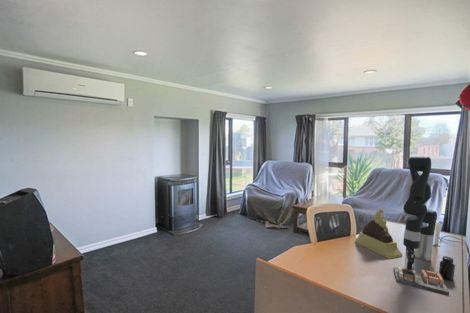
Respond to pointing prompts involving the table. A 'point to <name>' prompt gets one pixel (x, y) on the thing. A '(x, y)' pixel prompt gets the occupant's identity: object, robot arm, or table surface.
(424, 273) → the socket
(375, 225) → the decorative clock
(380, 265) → the table surface
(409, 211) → the robot arm
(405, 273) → the peg
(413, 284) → the mount board
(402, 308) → the table surface
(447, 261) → the supplement bottle
